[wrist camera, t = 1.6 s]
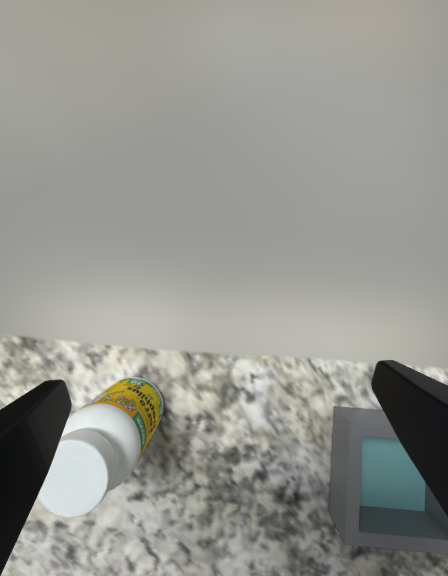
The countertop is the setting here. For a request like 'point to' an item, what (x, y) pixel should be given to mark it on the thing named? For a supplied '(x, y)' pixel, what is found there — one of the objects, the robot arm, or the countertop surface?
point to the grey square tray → (380, 488)
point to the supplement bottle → (101, 446)
